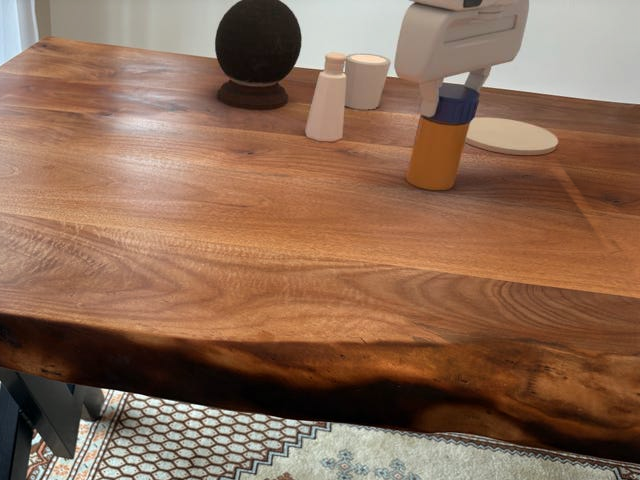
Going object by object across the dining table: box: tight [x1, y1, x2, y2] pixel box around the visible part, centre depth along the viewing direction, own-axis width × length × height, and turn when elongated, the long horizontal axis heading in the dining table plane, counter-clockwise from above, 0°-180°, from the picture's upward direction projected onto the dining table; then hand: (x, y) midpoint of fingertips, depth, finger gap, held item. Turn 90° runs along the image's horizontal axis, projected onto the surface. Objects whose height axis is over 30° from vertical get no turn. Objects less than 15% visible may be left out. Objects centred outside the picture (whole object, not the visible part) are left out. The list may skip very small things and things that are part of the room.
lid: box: [419, 83, 481, 123], centre depth 90 cm, size 6×6×3 cm
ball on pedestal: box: [214, 0, 303, 111], centre depth 118 cm, size 13×13×15 cm
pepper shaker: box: [304, 52, 347, 143], centre depth 106 cm, size 5×5×11 cm
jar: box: [405, 114, 471, 191], centre depth 93 cm, size 6×6×10 cm
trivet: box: [465, 117, 559, 156], centre depth 111 cm, size 14×14×1 cm
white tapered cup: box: [344, 53, 392, 111], centre depth 120 cm, size 7×7×7 cm
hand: (447, 109), depth 91 cm, fingers closed on lid, 6 cm apart
